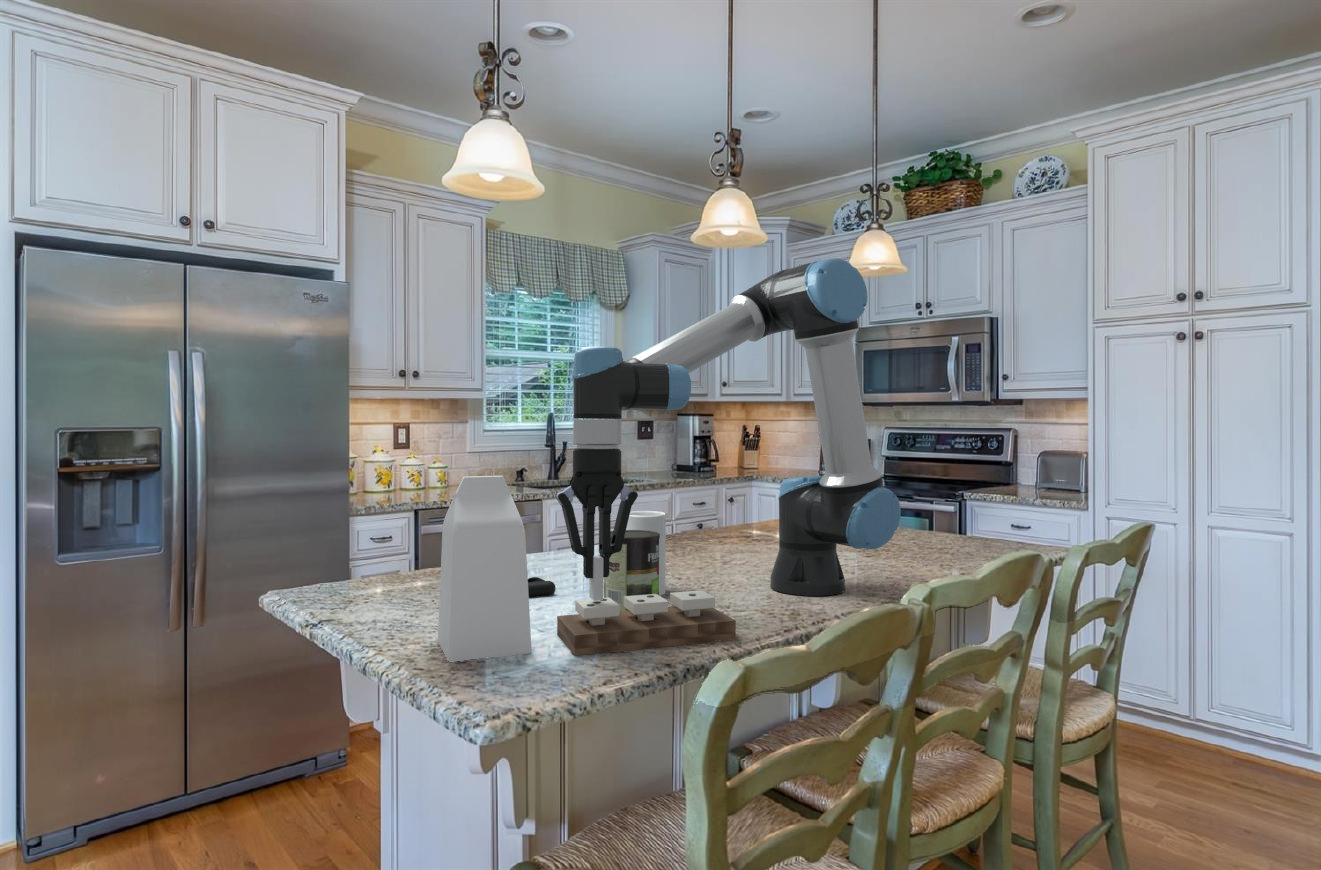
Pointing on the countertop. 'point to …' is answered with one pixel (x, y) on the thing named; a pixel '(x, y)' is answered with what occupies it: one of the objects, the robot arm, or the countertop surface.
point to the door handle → (540, 587)
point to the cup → (656, 524)
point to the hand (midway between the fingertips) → (596, 598)
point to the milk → (483, 574)
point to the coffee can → (633, 567)
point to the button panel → (644, 631)
